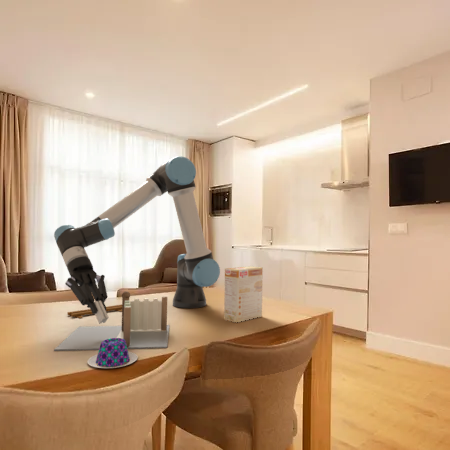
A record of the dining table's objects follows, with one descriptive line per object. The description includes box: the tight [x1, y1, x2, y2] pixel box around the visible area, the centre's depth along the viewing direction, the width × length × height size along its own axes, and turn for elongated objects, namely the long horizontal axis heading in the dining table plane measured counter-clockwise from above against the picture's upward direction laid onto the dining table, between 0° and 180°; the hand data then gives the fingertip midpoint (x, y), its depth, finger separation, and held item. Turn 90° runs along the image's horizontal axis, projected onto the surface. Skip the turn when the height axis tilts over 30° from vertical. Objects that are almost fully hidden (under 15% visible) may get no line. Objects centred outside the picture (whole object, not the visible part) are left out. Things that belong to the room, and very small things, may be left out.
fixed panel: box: [129, 296, 168, 331], centre depth 111 cm, size 12×2×11 cm, turn 98°
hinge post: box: [121, 291, 131, 332], centre depth 110 cm, size 3×3×13 cm
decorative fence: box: [67, 304, 122, 319], centre depth 138 cm, size 25×2×10 cm
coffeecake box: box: [223, 265, 263, 324], centre depth 132 cm, size 15×7×20 cm, turn 135°
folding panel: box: [123, 299, 131, 346], centre depth 102 cm, size 15×2×10 cm, turn 18°
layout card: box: [53, 324, 170, 352], centre depth 105 cm, size 30×23×1 cm
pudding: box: [87, 338, 139, 369], centre depth 86 cm, size 12×12×5 cm
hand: (103, 320), depth 105 cm, fingers closed
